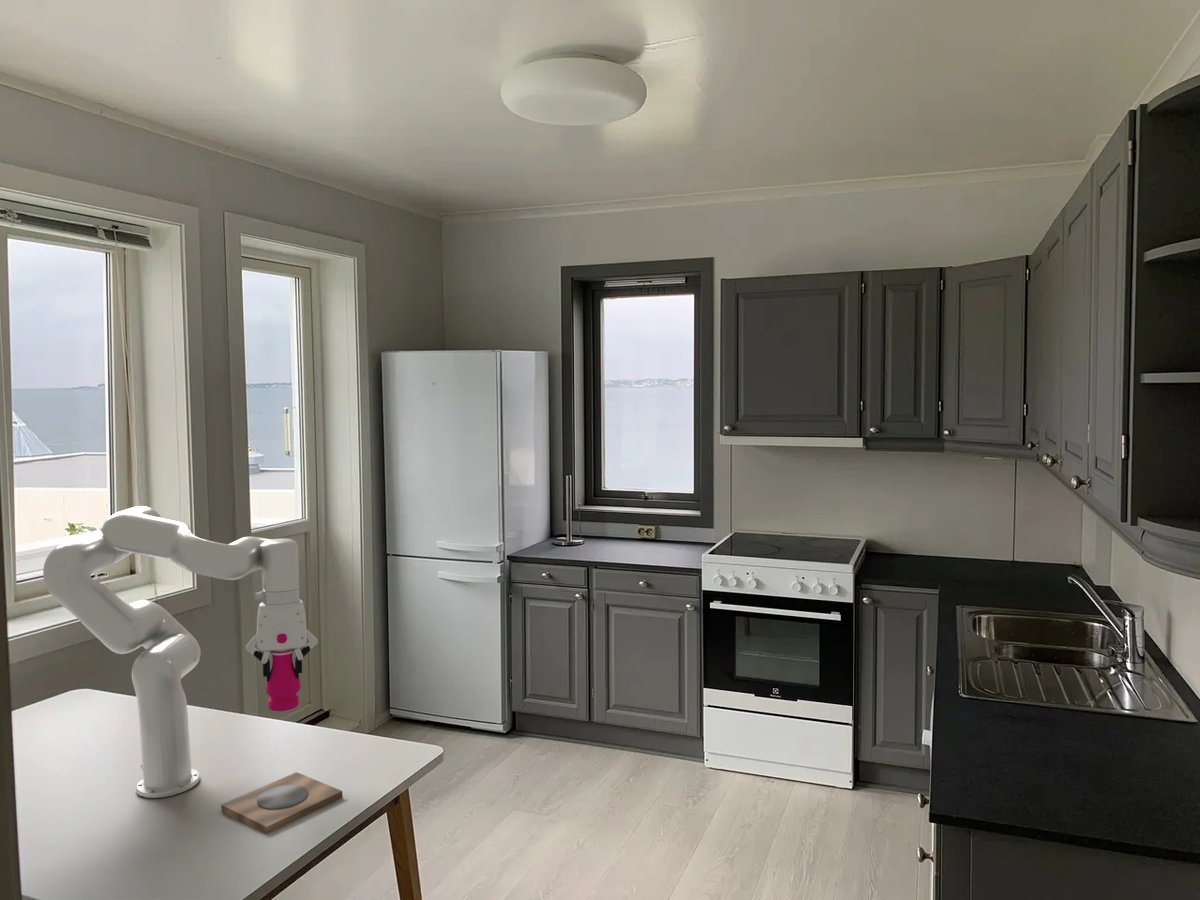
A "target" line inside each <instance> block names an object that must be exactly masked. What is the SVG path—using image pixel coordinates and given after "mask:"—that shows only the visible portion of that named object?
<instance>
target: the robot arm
mask: <svg viewBox="0 0 1200 900" xmlns="http://www.w3.org/2000/svg"><path fill="white" fill-rule="evenodd" d="M191 531H192V530H191V528H190V526H189V524H187V523H185V522H182V521H177V520H173V519H168V518H167V519H166V518H162V516H161V514H160V513H159V512H158V511H156V509H154V508H152V507H148V506H143V505H139V506H138V505H137V506H134V507H130V508H126V509H123V510H120V511H117V512H115V513H113V514H112V515H110V516H109V517H107V519H106V520H105V522H104V523H103V525H102V527H100V528H99V529H97V530H95V531H92V532H90V533H88V534H84V535H81V536H77V537H75V538H71V539H69V540H66V541H64V542H62V543H60V544H59V545H57V546H55V547H54V548H53V549H52V550H51V551H50V552H49V554H48V555H47V557H46V559H45V561H44V564H43V570H42V572H43V575H42V576H43V581H44V584H45V587H46V590H47V591H48V593H49V594H50V595H51V597H52V598H53V599H54V600H55V601H56V602H57V603H59V604H60V605H61V606H62V607H64V608H65V609H66V610H67V611H68V612H69V613H70V614H72V615H73V616H74V617H75V618H76V619H77V620H78V621H79V622H80V623H81V624H82V625H83V626H85V628H86V629H87V630H88V631H90V633H91V634H92V635H93V636H95V638H97V639H98V640H99V641H100V642H101V643H102V644H103V645H104V646H105V647H106V648H107V649H109V650H110V651H111V652H113V653H115V654H118V655H125V654H129V653H132V652H135V650H137V649H140V648H141V647H143V648H144V650H143V651H142V652H141V653H140V654H139V655H138V656H137V657H136V658H135V660H134V662H133V664H132V668H131V679H132V680H131V681H132V686H133V688H134V693H135V696H136V702H137V710H138V721H139V732H140V733H139V734H140V747H141V761H142V763H141V764H140V769H141V770H142V775H143V777H142V779H140V780H139V781H138V782H137V784H136V785H135V790H136V791H135V792H136V794H137V795H138V796H140V797H142V796H143V797H142V798H148V799H159V798H160V799H161V798H166V797H167V798H168V797H172V796H175V795H179V794H182V793H184V792H186V791H189V790H190V789H192V788H193V787H195V786H197V784H198V783H199V781H200V777H201V776H200V773H199V771H198V770H196V769H194V768H192V761H191V758H192V757H191V746H190V745H191V744H190V731H189V730H190V729H189V727H190V726H189V713H188V704H187V702H188V701H187V697H186V694H185V691H184V689H183V686H182V678H183V677H185V676H186V675H187V674H188V673H190V672H191V671H192V670H193V669H195V668H196V666H197V665H198V663H199V661H200V659H201V653H202V652H201V647H200V645H199V642H198V640H196V638H195V637H194V635H192V634H191V633H190V632H189V631H188V630H187V629H186V628H185V627H184V626H183V625H182V624H181V623H180V622H179V621H177V619H176V618H175V617H174V616H173V615H172V614H171V613H170V612H168V611H167V609H165V608H164V607H162V606H161V605H160V604H158V603H157V602H154V601H151V600H148V599H147V600H145V599H140V600H136V601H132V602H130V603H126V602H125V601H124V600H122V599H121V598H120V597H119V596H118V595H117V594H116V593H115V592H114V591H113V590H112V589H111V588H109V587H108V586H106V585H105V584H103V583H100V582H98V581H97V580H95V579H93V578H92V576H91V575H93V574H95V573H97V572H99V571H102V570H104V569H108V568H109V567H112V566H113V565H115V564H117V563H118V562H120V561H121V560H123V559H125V558H127V557H128V556H130V555H132V554H135V555H140V556H141V555H142V556H146V557H150V558H156V559H159V560H164V561H169V562H172V563H174V564H176V565H177V566H179V567H180V568H182V569H184V570H186V571H188V572H191V573H193V574H197V575H200V576H205V577H210V578H215V579H219V580H224V581H225V580H226V581H227V580H228V581H236V580H240V579H242V578H245V577H246V576H248V575H249V574H251V573H253V572H255V571H258V570H261V585H262V586H261V590H260V591H258V592H255V593H254V598H255V600H260V601H262V602H260V603H259V604H258V608H257V609H258V610H257V616H256V617H257V618H256V633H255V634H254V636H253V637H252V638H251V639H249V641H248V643H247V644H246V645H245V651H246V652H248V653H250V654H251V655H252V656H254V657H255V658H256V659H257V660H259V661H260V662H261V664H262V674H263V675H262V677H264V678H265V677H266V682H267V681H269V680H270V671H271V660H270V658H269V657H270V655H271V653H270V651H279V650H290V649H294V653H295V657H294V668H295V677H296V678H299V679H300V674H302V673H303V659H304V657H305V656H307V654H308V653H309V652H310V651H311V650H312V649H313V648H315V646H317V645H318V644H319V642H318V638H317V637H316V636H314V634H312V633H311V632H310V630H309V629H308V628H307V617H306V616H307V615H306V611H305V605H304V602H303V600H302V599H301V598H300V579H299V578H300V577H299V575H300V571H299V570H300V569H299V568H300V567H299V546H298V543H297V541H296V540H294V539H292V538H285V537H284V538H271V539H270V538H265V537H258V536H243V537H241V538H239V539H237V540H234V541H232V542H230V543H228V544H227V543H222V542H217V541H211V540H209V539H203V538H200V537H198V536H196V535H195V534H193V533H192V532H191ZM283 633H284V634H286V635H287V636H286V638H287V637H288V638H287V641H286V642H285V643H282V644H281V643H278V642H277V639H276V638H278V637H277V636H278V635H279V634H283ZM307 641H309V642H307ZM255 646H257V648H256V647H255Z"/></svg>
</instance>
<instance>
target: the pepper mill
mask: <svg viewBox="0 0 1200 900" xmlns="http://www.w3.org/2000/svg"><path fill="white" fill-rule="evenodd" d="M286 636H287V635H286V634H284V633H283V634H279V635H278V636H277V637H278V638H276V639H277V642H278V643H281V644H282V643H285V642H286V641H287V638H288V637H287V638H286ZM293 653H295V650H294V649H290V650H279V651H270V655H271V657H272V661H271V662H272V664H271V667H270V680H269V681H267V680H266V682H265V694H267V695H268V696H269V698H268V699H267V702H268V703H267V704H268V706H267V708H268V709H269V710H270V711H274V712H284V711H285V712H286V711H290V710H294V709H296V708H297V707H298V706H299V703H300V702H299V695H297V694H298V693H299V691H300V690H301V687H302V686H301V681H300V677H299V678H296V677H295V664H294V662H293Z"/></svg>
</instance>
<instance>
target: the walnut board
mask: <svg viewBox="0 0 1200 900" xmlns="http://www.w3.org/2000/svg"><path fill="white" fill-rule="evenodd" d="M342 797H343V790H340V789H339V788H337V787H333V786H331V785H329V784H326V783H324V782H321V781H319V780H317V779H314V778H312V777H310V776H307V775H305V774H302V773H300V772H297V771H295V772H294V773H291V774H289V775H287V776H284V777H282V778H280V779H277V780H275V781H273V782H271V783H268V784H265V785H264V786H261V787H259V788H256V789H254V790H252V791H250V792H248V793H245V794H243V795H240V796H237V797H235V798H233V799H231V800H229V801H226V802H223V803H222V804H220V809H221V812H222V813H223V812H224V814H225V813H226V815H227V814H228V816H229V815H230V816H229V817H231V816H232V817H231V818H233V817H235V818H237V819H236V820H237V821H240V822H242V823H244V824H246V823H247V824H246V825H248V826H250V827H252V828H254V829H255V830H257V831H259V832H262V833H263V834H266V835H269V834H270V833H272V832H275V831H277V830H279V829H280V828H283V827H284V826H287V825H289V824H291V823H294V822H295V821H297V820H300V819H301V818H304V817H306V816H308V815H310V814H312V813H314V812H317V811H318V810H321V809H323V808H324V807H326V806H328V804H329V805H330V803H331V804H332V802H333V803H334V801H335V802H337V801H339V800H341V799H342ZM340 798H341V799H340ZM343 798H344V797H343ZM338 799H339V800H338ZM336 800H337V801H336ZM303 816H304V817H303ZM235 818H234V819H235Z"/></svg>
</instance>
